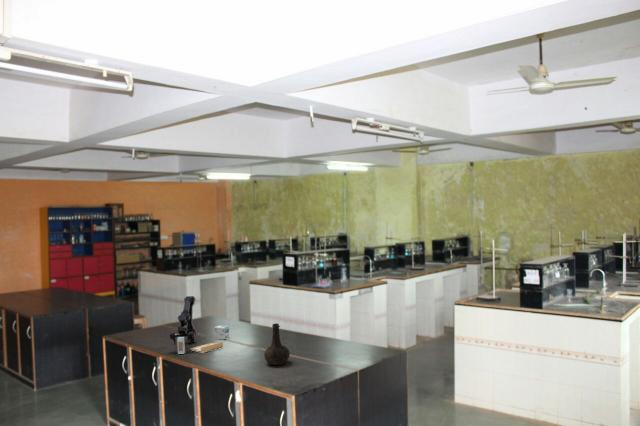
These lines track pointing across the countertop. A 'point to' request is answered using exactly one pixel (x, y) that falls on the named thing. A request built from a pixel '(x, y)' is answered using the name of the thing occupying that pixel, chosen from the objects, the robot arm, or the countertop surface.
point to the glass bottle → (276, 349)
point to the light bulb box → (222, 332)
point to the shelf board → (198, 349)
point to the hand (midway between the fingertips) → (180, 345)
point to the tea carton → (181, 345)
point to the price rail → (211, 346)
